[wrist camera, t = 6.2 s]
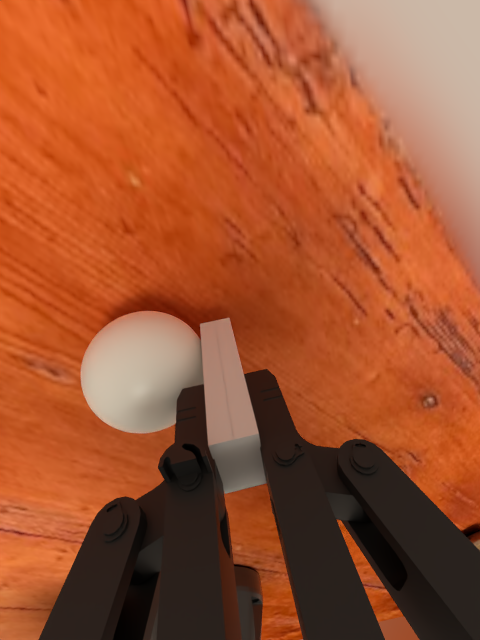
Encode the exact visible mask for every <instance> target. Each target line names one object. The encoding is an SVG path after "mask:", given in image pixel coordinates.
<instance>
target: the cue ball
mask: <svg viewBox="0 0 480 640" xmlns="http://www.w3.org/2000/svg"><path fill="white" fill-rule="evenodd" d="M201 384H204V377H203V362H202V347H201V340H200V338H199V337H198V335H197V334H196V333H195V332H194V330H193V329H192V328H191V327H190V326H189V325H187V324H186V323H185V322H183V321H182V320H180V319H179V318H177V317H175V316H172V315H170V314H167V313H163V312H157V311H139V312H134V313H129V314H127V315H124V316H121V317H119V318H117V319H115V320H113V321H112V322H110V323H109V324H107V325H106V326H105V327H104V328H103V329H101V330H100V331H99V332H98V333H97V335H96V336H95V337H94V338H93V340H92V341H91V343H90V344H89V346H88V348H87V350H86V352H85V355H84V357H83V361H82V366H81V386H82V390H83V394H84V397H85V399H86V401H87V403H88V405H89V407H90V408H91V409H92V411H93V412H94V413H95V414H96V415H97V416H98V417H99V418H100V419H101V420H102V421H103V422H105V423H106V424H108V425H110V426H112V427H114V428H116V429H118V430H121V431H125V432H129V433H151V432H156V431H160V430H163V429H166V428H168V427H170V426H172V425H174V424H176V413H177V412H176V407H177V398H178V396H179V395H180V393H181V391H182V389H184V388H188V387H192V386H197V385H201Z"/></svg>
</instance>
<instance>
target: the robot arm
mask: <svg viewBox="0 0 480 640" xmlns="http://www.w3.org/2000/svg"><path fill="white" fill-rule="evenodd" d="M200 333H201V347H202V362H203V377H204V384H201V385H197V386H192V387H188V388H184V389H182V391H181V393H180V395H179V396H178V398H177V407H176V412H177V413H176V428H175V443H174V444H173V445H171V446H170V447H169V448H168V449H167V450H166V451H165V452H164V454H163V455H162V457H161V458H160V462H159V465H158V469H159V470H160V472H161V474H162V476H163V478H164V479H165V480H164V481H163V482H162V483H161V484H160V485H159V486H157V487H156V488H155V489H153V490H152V491H150V492H148V493H147V494H145V495H143V496H142V497H140V498H138V499H137V500H134V499H133V498H129V497H121V498H116V499H115V500H113V501H111V502H109V503H108V504H106V505H105V506H104V507H103V508H102V509H101V510H100V511H99V512H98V514H97V515H96V517H95V519H94V520H93V522H92V524H91V526H90V528H89V530H88V532H87V535H86V537H85V539H84V541H83V543H82V546H81V548H80V550H79V552H78V554H77V557H76V559H75V561H74V563H73V565H72V568H71V570H70V572H69V574H68V576H67V579H66V581H65V583H64V585H63V587H62V590H61V592H60V594H59V596H58V598H57V600H56V603H55V605H54V607H53V609H52V611H51V614H50V616H49V618H48V620H47V622H46V625H45V627H44V629H43V631H42V633H41V636H40V638H39V640H261V626H262V607H263V595H262V589H261V583H260V577H259V574H258V573H257V572H256V571H254V570H252V569H249V568H245V567H236V566H234V563H233V554H232V545H231V537H230V528H229V519H228V512H227V509H226V506H225V499H224V492H225V494H226V493H230V492H234V491H238V490H242V489H246V488H250V487H254V486H258V485H262V484H266V483H267V486H268V490H269V494H270V500H271V506H272V511H273V514H274V517H275V522H276V526H277V530H278V534H279V539H280V543H281V547H282V551H283V555H284V560H285V564H286V568H287V572H288V576H289V581H290V585H291V589H292V593H293V597H294V602H295V606H296V610H297V614H298V619H299V623H300V627H301V631H302V635H303V640H385V638H384V636H383V634H382V631H381V629H380V626H379V624H378V621H377V619H376V616H375V614H374V611H373V609H372V606H371V604H370V602H369V599H368V597H367V594H366V592H365V589H364V587H363V584H362V582H361V579H360V577H359V574H358V572H357V570H356V567H355V565H354V562H353V560H352V557H351V555H350V552H349V550H348V547H347V545H346V542H345V540H344V538H343V535H342V533H341V530H340V528H339V525H338V523H337V520H336V519H338V520H341V521H342V523H343V524H344V526H345V527H346V529H347V530H348V532H349V533H350V535H351V536H352V538H353V539H354V541H355V542H356V544H357V545H358V547H359V548H360V550H361V551H362V553H363V554H364V556H365V557H366V559H367V560H368V562H369V563H370V565H371V567H372V568H373V570H374V571H375V573H376V574H377V576H378V577H379V579H380V580H381V582H382V583H383V585H384V586H385V588H386V589H387V591H388V592H389V594H390V595H391V597H392V598H393V600H394V601H395V603H396V604H397V606H398V607H399V609H400V610H401V612H402V613H403V615H404V617H405V618H406V620H407V621H408V623H409V624H410V626H411V627H412V629H413V630H414V632H415V633H416V635H417V636H418V638H419V639H420V640H480V550H479V549H478V548H477V547H476V546H475V545H474V544H473V543H472V542H471V541H470V540H469V539H468V538H467V537H466V536H465V535H464V534H463V533H462V532H461V531H460V530H459V529H458V528H457V527H456V526H455V525H454V524H453V522H452V521H451V520H450V519H449V518H448V517H447V516H446V515H445V514H444V513H443V512H442V511H441V510H440V509H439V508H438V507H437V506H436V505H435V504H434V503H433V502H432V501H431V500H430V499H429V498H428V497H427V496H426V495H425V494H424V493H423V492H422V491H421V490H420V489H419V488H418V487H417V485H416V484H415V483H414V482H413V481H412V480H411V479H410V478H409V477H408V476H407V475H406V474H405V473H404V472H403V471H402V470H401V469H400V468H399V467H398V466H397V465H396V464H395V463H394V462H393V461H392V460H391V459H390V458H389V457H388V456H387V455H386V454H385V453H384V452H383V451H382V450H381V449H380V448H379V447H377V446H376V445H375V444H373V443H371V442H368V441H366V440H361V439H353V440H349V441H346V442H345V443H344V444H343V445H342V446H341V447H340V448H329V447H320V446H315V445H313V444H310V443H308V442H307V441H305V440H304V439H303V438H302V437H301V436H300V435H299V434H298V432H297V430H296V428H295V426H294V423H293V421H292V418H291V416H290V413H289V411H288V408H287V405H286V403H285V400H284V398H283V396H282V393H281V390H280V388H279V385H278V383H277V380H276V378H275V376H274V375H273V374H272V373H271V372H269V371H268V370H267V369H265V370H260V371H256V372H251V373H247V374H244V373H243V369H242V365H241V361H240V357H239V353H238V350H237V346H236V342H235V338H234V334H233V330H232V326H231V322H230V318H225V319H220V320H215V321H211V322H206V323H201V324H200Z"/></svg>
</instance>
